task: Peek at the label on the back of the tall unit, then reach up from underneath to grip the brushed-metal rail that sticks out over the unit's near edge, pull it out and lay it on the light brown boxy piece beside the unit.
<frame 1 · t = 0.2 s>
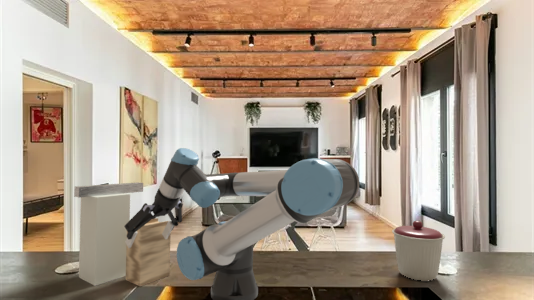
hand: (147, 240, 106), 15 cm above the table, tool tilted 35°, fingers open, 13 cm apart
rail: (111, 193, 115), point 30 cm above the table, touching unit
light brown boxy piece: (148, 277, 112), on the table
unit: (103, 276, 113), on the table
canister: (417, 276, 117), on the table
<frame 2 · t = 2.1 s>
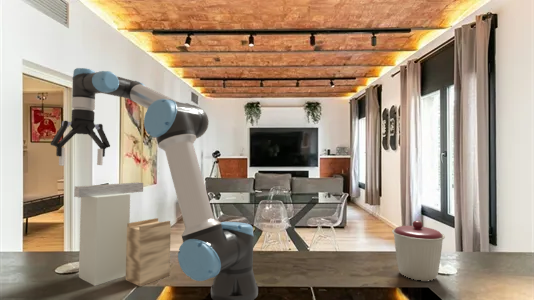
hand: (81, 165, 118), 40 cm above the table, tool pointing down, fingers open, 13 cm apart
nothing on the table moved.
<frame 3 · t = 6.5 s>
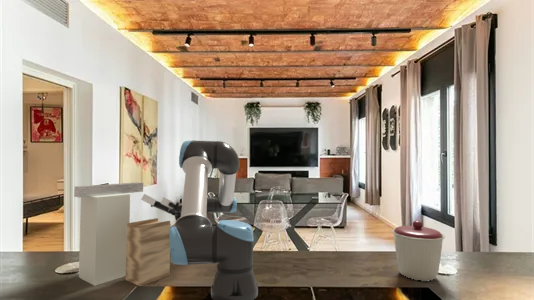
hand: (152, 198, 129), 27 cm above the table, tool pointing upward, fingers open, 13 cm apart
nothing on the table moved.
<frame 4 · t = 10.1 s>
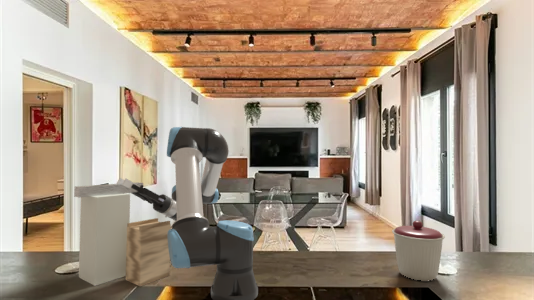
hand: (121, 181, 118), 34 cm above the table, tool pointing upward, fingers closed on rail, 3 cm apart
rail: (111, 193, 115), point 30 cm above the table, touching gripper, unit
everything else where it was.
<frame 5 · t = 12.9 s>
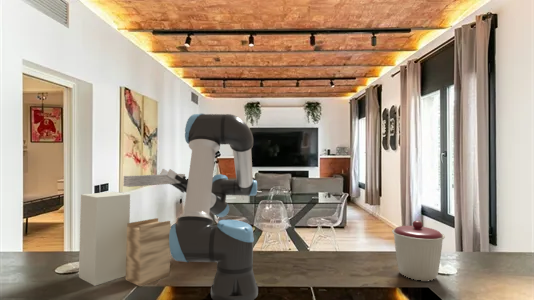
hand: (165, 172, 119), 38 cm above the table, tool pointing upward, fingers closed on rail, 3 cm apart
rail: (156, 184, 116), point 34 cm above the table, touching gripper
everything else where it was.
when the fingers open (25 cm above the table, at t = 15.7 s): rail drops 2 cm, resting on light brown boxy piece.
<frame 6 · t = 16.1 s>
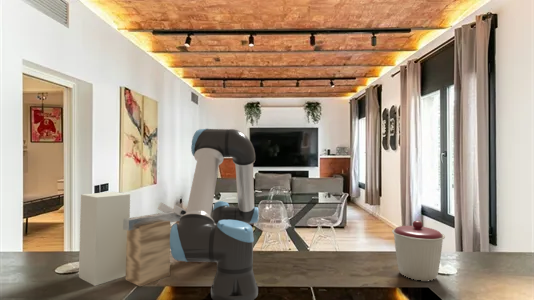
hand: (166, 206, 119), 25 cm above the table, tool pointing upward, fingers open, 8 cm apart
rail: (156, 224, 115), point 19 cm above the table, touching light brown boxy piece
everything else where it was.
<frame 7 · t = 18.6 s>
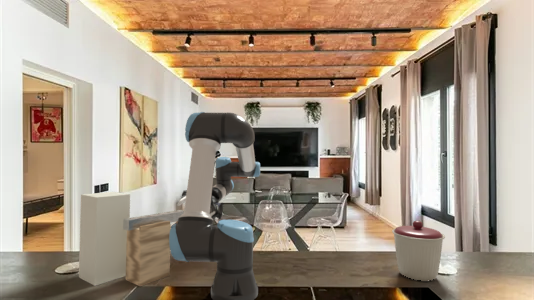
hand: (192, 211, 125), 22 cm above the table, tool horizontal, fingers open, 13 cm apart
nothing on the table moved.
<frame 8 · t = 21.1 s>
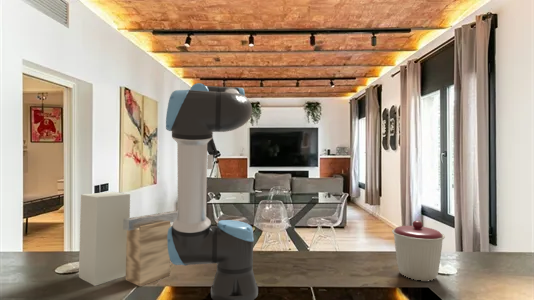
hand: (198, 169, 134), 39 cm above the table, tool pointing down, fingers open, 13 cm apart
nothing on the table moved.
at the end: rail inside the target area (0.6 cm from its centre), point 19.0 cm above the table; the gripper is holding nothing; rail touching light brown boxy piece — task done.
